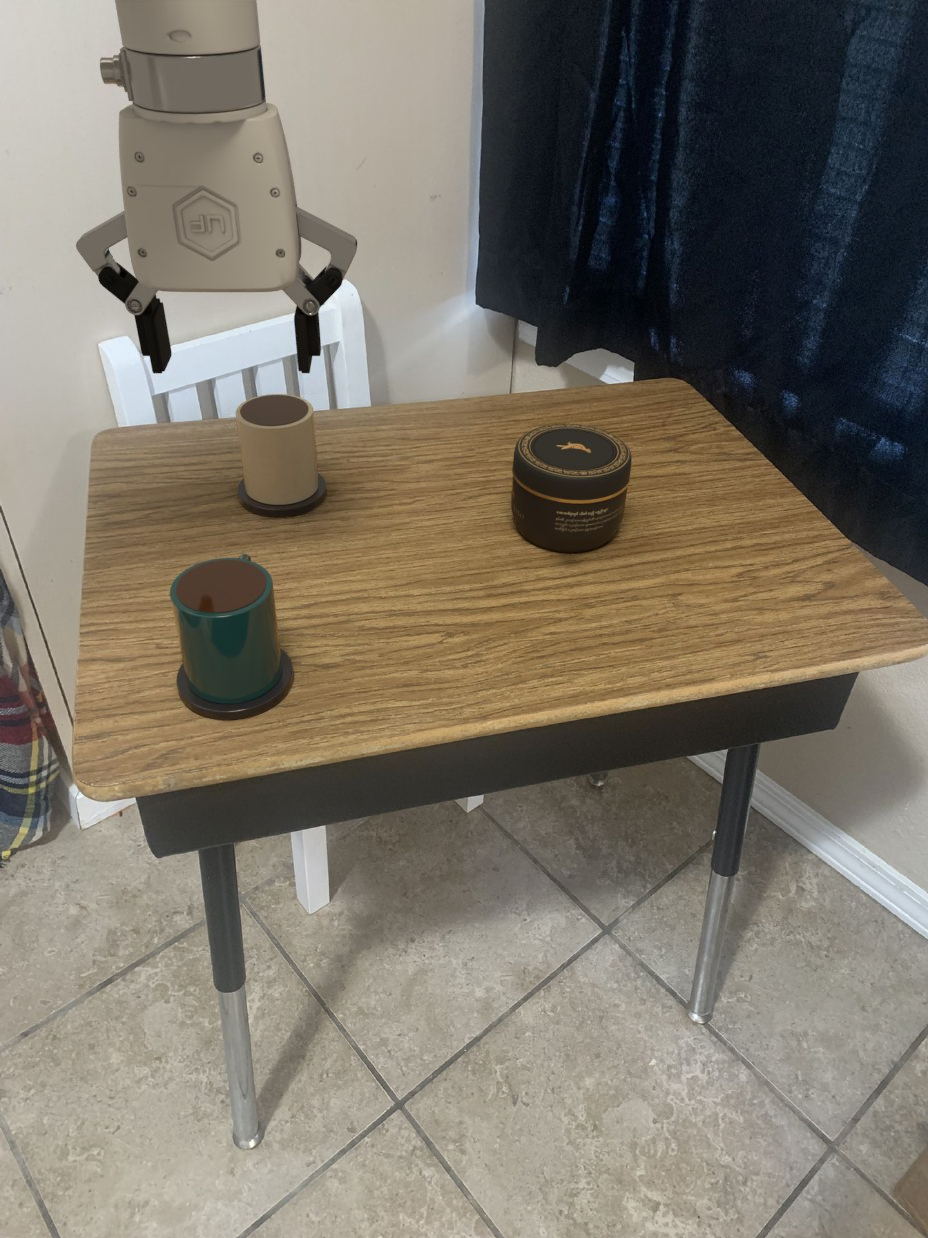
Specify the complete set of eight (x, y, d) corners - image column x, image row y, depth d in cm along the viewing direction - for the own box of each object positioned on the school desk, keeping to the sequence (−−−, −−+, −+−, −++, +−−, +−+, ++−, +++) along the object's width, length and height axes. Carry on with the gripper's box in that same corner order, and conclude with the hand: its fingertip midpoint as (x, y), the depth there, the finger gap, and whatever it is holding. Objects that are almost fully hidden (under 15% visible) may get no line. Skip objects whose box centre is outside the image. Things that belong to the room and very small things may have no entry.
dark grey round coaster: (239, 521, 85) (238, 513, 85) (236, 475, 91) (235, 468, 91) (331, 513, 87) (330, 505, 86) (322, 468, 93) (321, 461, 92)
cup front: (271, 707, 66) (260, 619, 61) (174, 701, 66) (156, 613, 61) (297, 621, 73) (289, 537, 69) (210, 616, 73) (196, 531, 69)
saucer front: (177, 727, 65) (175, 718, 65) (178, 651, 71) (176, 643, 71) (297, 712, 67) (297, 703, 66) (289, 639, 73) (288, 630, 72)
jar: (498, 499, 89) (503, 423, 85) (604, 492, 91) (614, 417, 86) (521, 561, 82) (527, 482, 77) (636, 553, 83) (649, 474, 78)
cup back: (322, 501, 87) (316, 424, 82) (246, 508, 86) (236, 430, 81) (312, 451, 94) (306, 377, 89) (242, 456, 93) (233, 382, 88)
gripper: (22, 93, 52) (91, 389, 63) (346, 97, 53) (360, 389, 64) (60, 67, 58) (117, 342, 69) (352, 71, 59) (364, 342, 70)
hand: (234, 364), depth 66 cm, fingers open, 9 cm apart
